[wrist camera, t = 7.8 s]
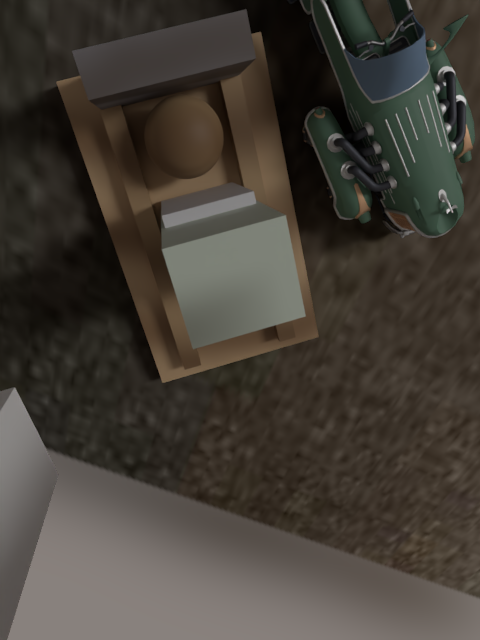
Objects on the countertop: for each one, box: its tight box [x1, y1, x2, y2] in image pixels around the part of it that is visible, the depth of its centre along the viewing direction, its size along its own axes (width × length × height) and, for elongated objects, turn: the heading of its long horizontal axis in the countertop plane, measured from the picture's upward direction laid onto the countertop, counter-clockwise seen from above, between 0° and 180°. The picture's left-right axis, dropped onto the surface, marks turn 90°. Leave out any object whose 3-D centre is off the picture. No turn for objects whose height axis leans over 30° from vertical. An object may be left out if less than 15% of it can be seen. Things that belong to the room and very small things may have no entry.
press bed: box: [56, 9, 319, 383], centre depth 27 cm, size 20×12×7 cm, turn 14°
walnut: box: [144, 94, 223, 179], centre depth 25 cm, size 4×4×4 cm
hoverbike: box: [287, 0, 475, 238], centre depth 25 cm, size 10×25×8 cm, turn 30°
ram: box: [161, 182, 306, 349], centre depth 24 cm, size 5×5×12 cm
